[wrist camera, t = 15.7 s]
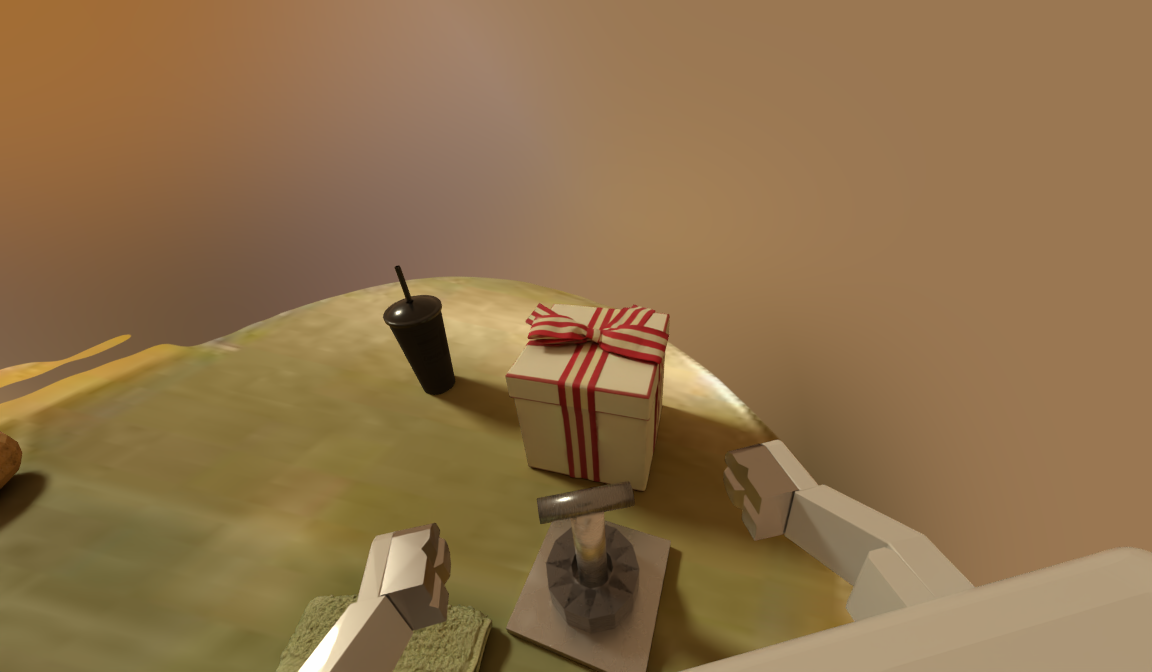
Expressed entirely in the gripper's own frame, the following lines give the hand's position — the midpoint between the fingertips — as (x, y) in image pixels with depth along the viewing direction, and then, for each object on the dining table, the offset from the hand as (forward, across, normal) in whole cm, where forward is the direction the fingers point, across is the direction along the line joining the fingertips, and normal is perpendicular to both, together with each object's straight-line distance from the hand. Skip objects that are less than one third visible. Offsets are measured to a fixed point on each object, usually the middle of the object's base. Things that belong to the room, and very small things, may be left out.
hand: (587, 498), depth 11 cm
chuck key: (+13, 0, -30) cm, 33 cm away
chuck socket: (+13, 0, -31) cm, 33 cm away
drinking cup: (+47, -17, -28) cm, 57 cm away
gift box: (+32, +4, -30) cm, 45 cm away
